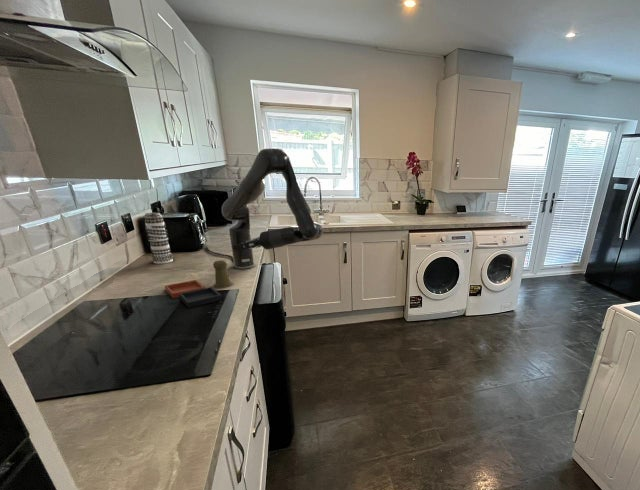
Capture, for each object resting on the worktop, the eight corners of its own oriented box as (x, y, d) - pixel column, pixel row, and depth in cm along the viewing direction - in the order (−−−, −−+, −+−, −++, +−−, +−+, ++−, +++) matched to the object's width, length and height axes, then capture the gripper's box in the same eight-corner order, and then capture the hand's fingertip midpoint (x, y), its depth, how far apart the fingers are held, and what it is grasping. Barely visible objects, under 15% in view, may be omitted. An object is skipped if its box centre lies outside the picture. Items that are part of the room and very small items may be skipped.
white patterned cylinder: (177, 258, 174) (167, 212, 165) (167, 264, 165) (156, 214, 156) (159, 258, 173) (149, 211, 164) (148, 263, 164) (136, 214, 156)
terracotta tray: (165, 290, 133) (164, 285, 133) (197, 283, 141) (196, 279, 141) (173, 298, 126) (172, 293, 125) (205, 291, 134) (205, 286, 133)
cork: (212, 285, 140) (208, 261, 136) (225, 281, 145) (221, 258, 141) (221, 288, 137) (217, 264, 134) (234, 284, 143) (230, 260, 139)
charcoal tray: (180, 298, 126) (179, 293, 126) (212, 291, 134) (211, 286, 134) (188, 307, 119) (187, 302, 118) (222, 299, 127) (221, 294, 126)
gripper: (279, 227, 139) (245, 235, 141) (263, 231, 125) (225, 240, 127) (284, 244, 141) (251, 251, 143) (269, 250, 127) (232, 258, 129)
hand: (239, 246), depth 135 cm, fingers open, 8 cm apart
